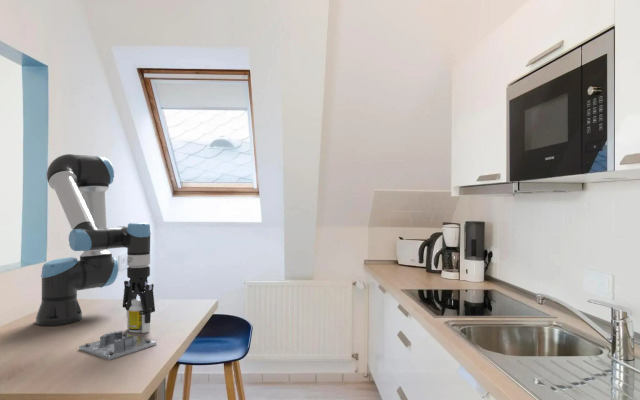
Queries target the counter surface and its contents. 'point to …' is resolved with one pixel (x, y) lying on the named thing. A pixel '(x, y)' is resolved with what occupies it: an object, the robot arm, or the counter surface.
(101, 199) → the robot arm
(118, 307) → the counter surface
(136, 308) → the pill bottle
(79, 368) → the counter surface
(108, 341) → the collar
